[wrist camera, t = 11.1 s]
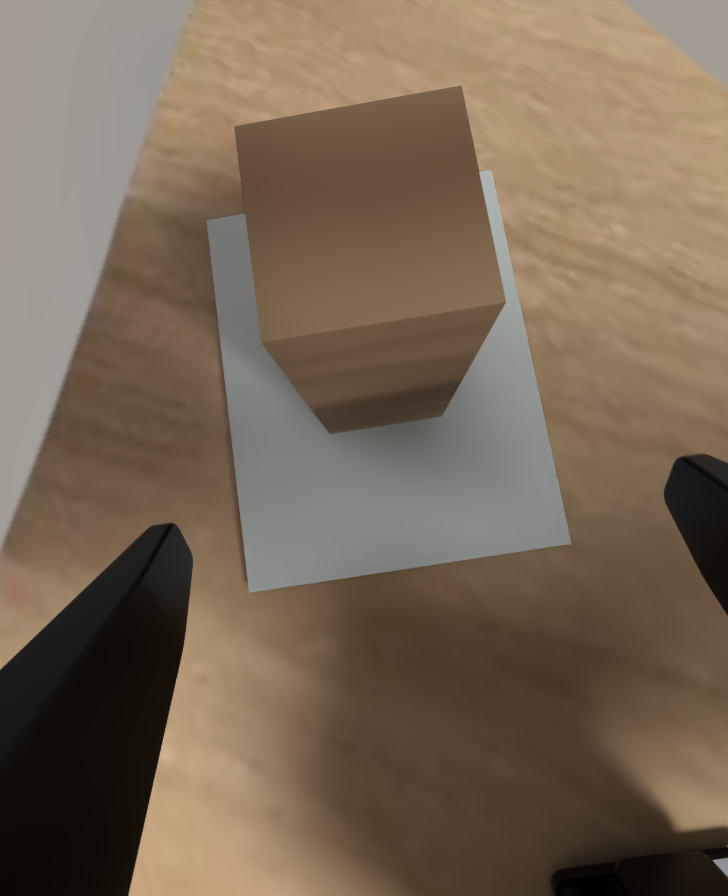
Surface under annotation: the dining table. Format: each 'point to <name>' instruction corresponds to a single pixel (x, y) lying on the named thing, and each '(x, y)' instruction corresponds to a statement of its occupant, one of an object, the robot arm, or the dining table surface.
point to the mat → (382, 451)
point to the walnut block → (371, 255)
